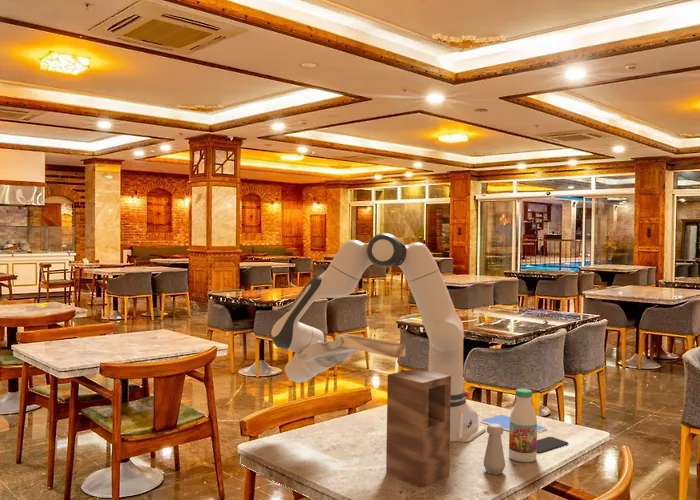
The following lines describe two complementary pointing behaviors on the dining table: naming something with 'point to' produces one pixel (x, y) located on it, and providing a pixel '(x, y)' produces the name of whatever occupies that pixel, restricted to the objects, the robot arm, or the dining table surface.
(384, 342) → the pine bar
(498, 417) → the tablet computer
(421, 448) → the walnut cabinet
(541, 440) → the phone
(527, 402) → the milk bottle
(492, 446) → the salt shaker
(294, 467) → the dining table surface
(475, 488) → the dining table surface
